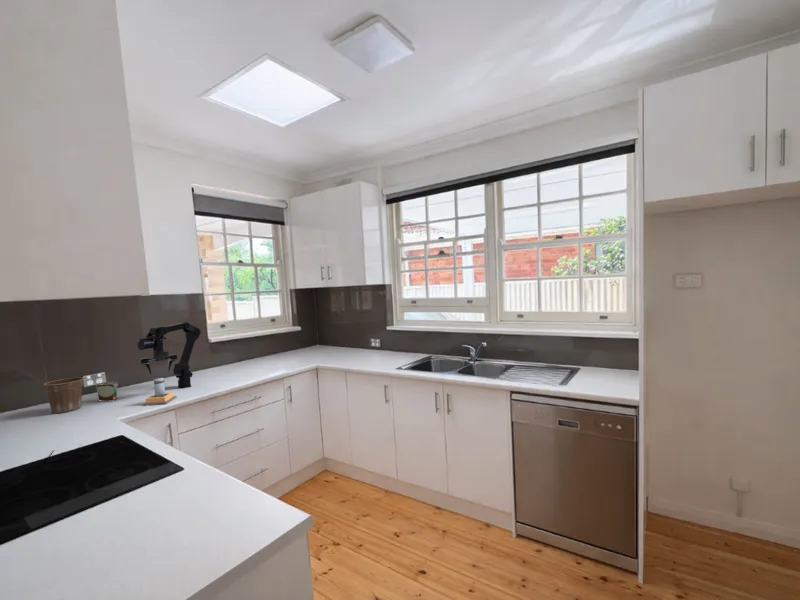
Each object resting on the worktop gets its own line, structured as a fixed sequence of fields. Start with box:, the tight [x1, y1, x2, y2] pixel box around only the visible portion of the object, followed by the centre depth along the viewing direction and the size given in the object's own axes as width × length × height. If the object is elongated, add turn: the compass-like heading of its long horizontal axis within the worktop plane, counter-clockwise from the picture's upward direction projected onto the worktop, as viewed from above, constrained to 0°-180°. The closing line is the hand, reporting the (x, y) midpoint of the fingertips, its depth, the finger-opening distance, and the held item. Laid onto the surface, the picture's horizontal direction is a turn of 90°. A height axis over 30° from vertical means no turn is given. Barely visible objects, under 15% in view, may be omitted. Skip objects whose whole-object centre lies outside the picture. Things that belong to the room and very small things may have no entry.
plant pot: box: [43, 376, 85, 414], centre depth 199 cm, size 16×16×16 cm
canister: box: [153, 377, 166, 397], centre depth 207 cm, size 5×5×12 cm
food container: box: [95, 381, 119, 402], centre depth 217 cm, size 12×6×10 cm, turn 84°
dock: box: [142, 392, 178, 407], centre depth 207 cm, size 12×12×4 cm
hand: (159, 372), depth 223 cm, fingers open, 9 cm apart
